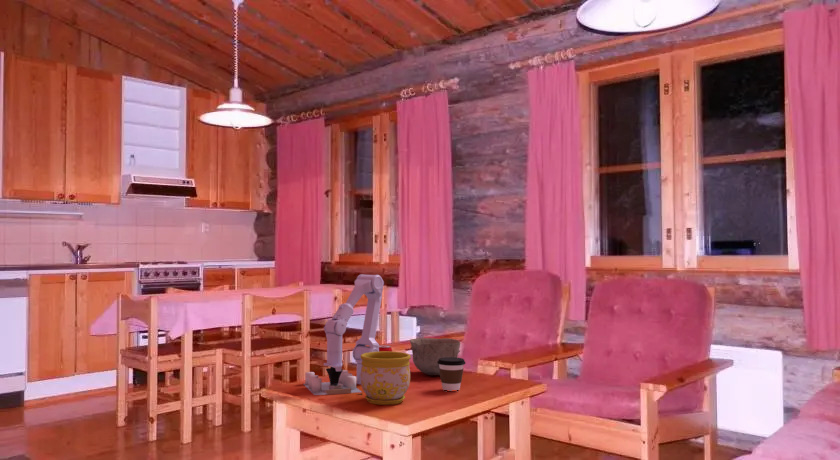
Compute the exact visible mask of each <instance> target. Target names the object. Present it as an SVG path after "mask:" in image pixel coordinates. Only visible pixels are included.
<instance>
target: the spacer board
mask: <svg viewBox="0 0 840 460" xmlns="http://www.w3.org/2000/svg"><path fill="white" fill-rule="evenodd" d="M342 370H343V369H342ZM304 376H305V377H304V379H305V380H304V383H303V386H305V388H306V389H307V390H309V392H310V393H311V394H313V396H323V395H324V396H325V395H326V396H331V395H332V396H333V395H346V394H354V393H355V394H356V393H359V394H357V396H360V395H361V396H362V395H363V393H362V392H363V391H362V390H360V389H359V388H357V375H356V376H355V375H353V373H350V372H349V370H346V369H344V370H343V371H342V373H341V375H340V378H339V382H338V383H339V384H343V389H334V390H329V385H330V381H328V382H327V381H326V382H325V381H324V382H322V380H323V379H322V378H321V377H319V375H315V372H314V371H307V372H305V374H304Z"/></svg>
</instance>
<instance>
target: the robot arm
mask: <svg viewBox="0 0 840 460" xmlns="http://www.w3.org/2000/svg"><path fill="white" fill-rule="evenodd" d="M384 285H385V281H384V280H383V278H382V276H381V275H379V274H364V273H363V274H362V273H361V274H359V275H358V276H356V279H354V287H353V289H352V290H351V292H350V294H349V296H348V298H347V299H346V302H344V303H341V304H340V305H339V306H338V308H337V310H336V311H335V313H334V315H333V316H332V317H331V318H330V319H328V320H327V321H326V323H325V324H324V326H323V330H324V333H325V337H326V362H323V366H324V367H325V366H326V367H327V368H325V371H326V373H327V375H328V378H329V382H330V384H336V383H338V382H339V378H340V375H341V373H342V371H343V368H342V367H343V335H344V334H345V333H346V331H347V325H348V322H349V320H350V318H351V317H352V315H353V314H354V312H355V311H354V307H355V306H356V304H357V303H358V302H359V300H360V299H362V297H363V296H366V298H367V303H366V308H365V315H364V321H363V325H362V330H361V331H362V332H361V337H360V338H359V339H358V340H356V341H355V346H354V347H353V349H352V358H353V359H354V360H355V363H356V385H361V368H362V364H361V363H362V359H361V355H362V354H364V353H368V352H379V346H380V344H379V343H378V342H377V340H376V334H377V329H378V323H379V322H378V321H379V317H380V311H381V306H382V305H381V304H382V299H383V290H384ZM329 367H330V368H329Z"/></svg>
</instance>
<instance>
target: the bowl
mask: <svg viewBox="0 0 840 460" xmlns="http://www.w3.org/2000/svg"><path fill="white" fill-rule="evenodd" d="M409 343H410V346H411V347H410V349H411V353H412V362H413V364H414V367H416V369H417V370H418V371H420V372H421V373H423V374H425V375H428V376H433V375H438V376H440V370H439V368H440V367H439V364H438V363H437V361H438V359H439V358H444V357H457V358H458V356H459V355H458V354H459V353H460V352H461V351H460V347H461V341H460V340H458V339H453V338H431V337H428V338H426V337H424V338H423V337H422V338H412V339H409Z"/></svg>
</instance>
